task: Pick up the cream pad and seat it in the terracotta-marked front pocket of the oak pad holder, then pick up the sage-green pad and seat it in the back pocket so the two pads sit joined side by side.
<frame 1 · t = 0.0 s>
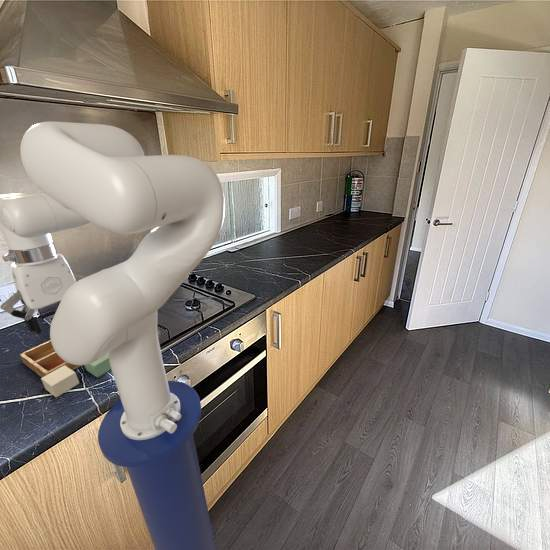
hand: (60, 321, 69), 18 cm above the worktop, tool pointing down, fingers open, 9 cm apart
holder: (53, 363, 83), on the worktop
beer glass: (118, 307, 113), on the worktop
pad a: (62, 386, 74), on the worktop
pad b: (101, 367, 81), on the worktop
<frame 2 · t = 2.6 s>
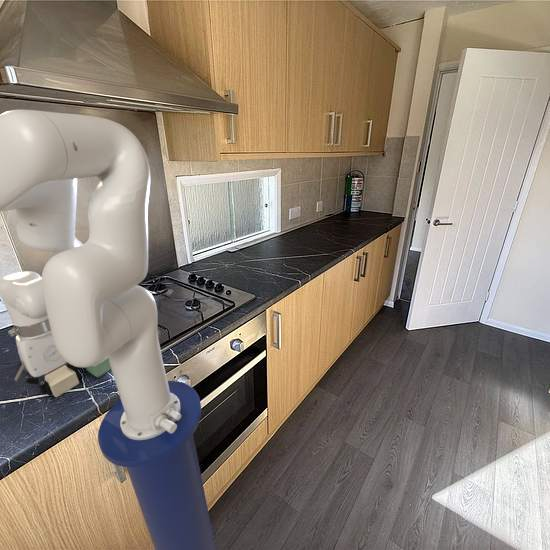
hand: (62, 384, 74), 1 cm above the worktop, tool pointing down, fingers closed on pad a, 5 cm apart
pad a: (62, 386, 74), on the worktop, touching gripper
everything else where it was.
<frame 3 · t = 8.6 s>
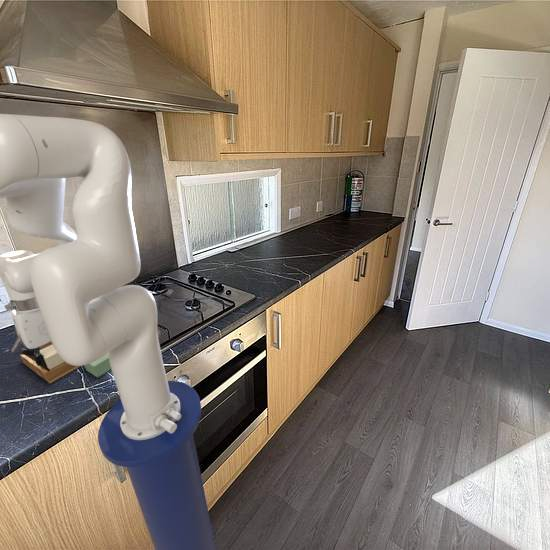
hand: (56, 358, 79), 3 cm above the worktop, tool pointing down, fingers closed on pad a, 5 cm apart
pad a: (56, 360, 80), point 3 cm above the worktop, touching gripper
everything else where it was.
when the fingers open (4 cm above the worktop, at t = 24.4 s): pad a stays where it is, resting on holder.
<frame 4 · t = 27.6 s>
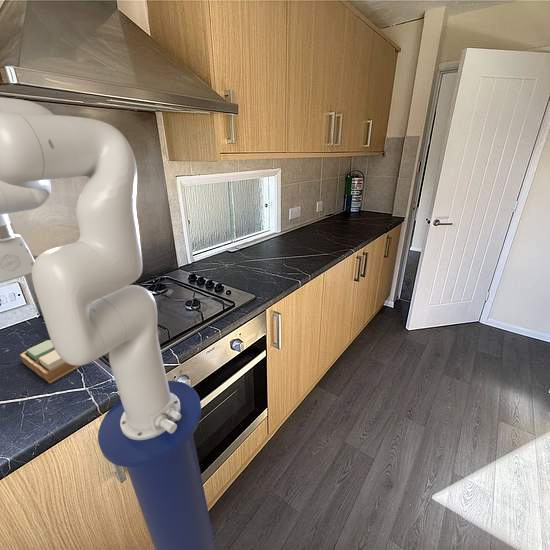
hand: (20, 297, 77), 20 cm above the worktop, tool pointing down, fingers open, 9 cm apart
pad a: (59, 366, 81), point 1 cm above the worktop, touching holder
pad b: (46, 357, 84), point 1 cm above the worktop, touching holder
everything else where it was.
at the end: pad a 0.0 cm from the target spot in the holder, point 0.8 cm above the holder's base; pad b 0.0 cm from the target spot in the holder, point 0.6 cm above the holder's base; pad b tilted 0° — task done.
